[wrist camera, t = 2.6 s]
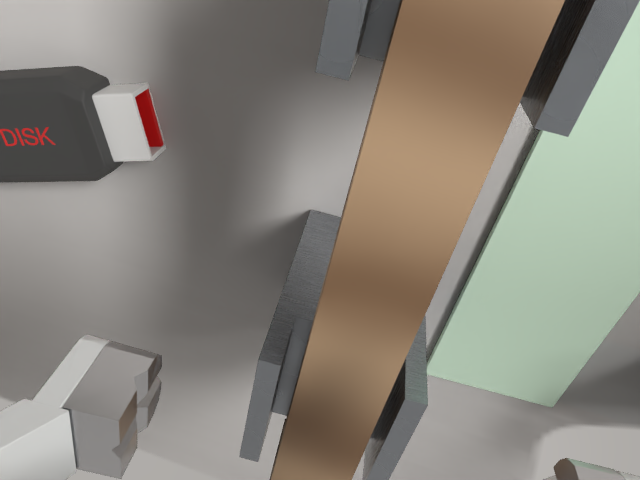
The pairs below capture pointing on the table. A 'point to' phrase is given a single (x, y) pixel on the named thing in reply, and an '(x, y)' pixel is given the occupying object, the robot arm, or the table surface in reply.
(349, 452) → the rail
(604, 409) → the table surface
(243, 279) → the table surface
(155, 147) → the usb drive
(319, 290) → the stand
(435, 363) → the mat
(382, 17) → the stand
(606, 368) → the table surface
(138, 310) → the table surface
